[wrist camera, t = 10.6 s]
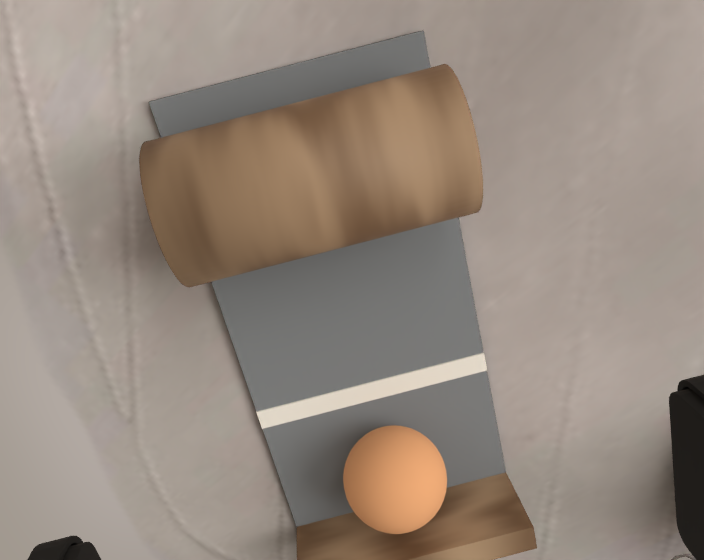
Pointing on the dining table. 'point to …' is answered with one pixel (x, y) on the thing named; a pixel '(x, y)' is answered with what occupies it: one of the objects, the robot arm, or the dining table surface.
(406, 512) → the ball
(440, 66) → the brown cylinder
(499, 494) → the backstop board
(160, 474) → the dining table surface
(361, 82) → the throwing mat
